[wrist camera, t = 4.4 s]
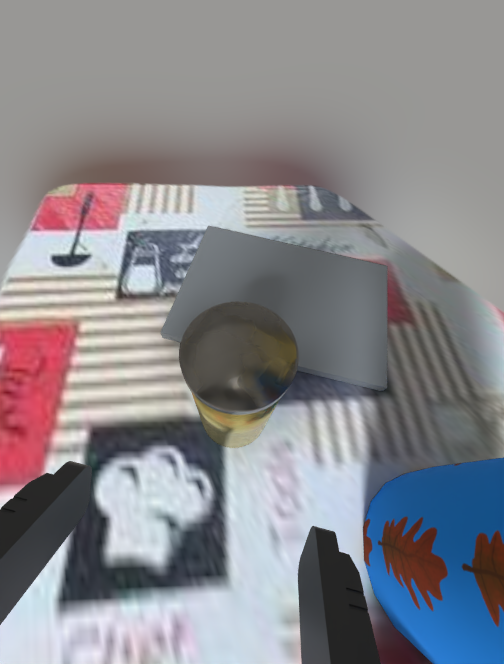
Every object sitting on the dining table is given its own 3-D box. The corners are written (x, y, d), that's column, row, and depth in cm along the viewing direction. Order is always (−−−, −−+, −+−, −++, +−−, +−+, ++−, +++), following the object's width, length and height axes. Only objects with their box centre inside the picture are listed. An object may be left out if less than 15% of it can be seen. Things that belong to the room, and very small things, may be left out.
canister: (273, 390, 25) (306, 315, 14) (259, 457, 22) (288, 424, 12) (211, 375, 25) (200, 290, 15) (191, 439, 23) (160, 392, 12)
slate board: (383, 272, 32) (387, 265, 32) (381, 391, 26) (387, 387, 25) (208, 232, 33) (208, 225, 32) (162, 337, 27) (160, 332, 26)
